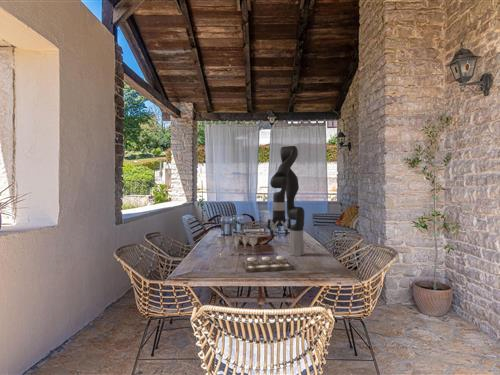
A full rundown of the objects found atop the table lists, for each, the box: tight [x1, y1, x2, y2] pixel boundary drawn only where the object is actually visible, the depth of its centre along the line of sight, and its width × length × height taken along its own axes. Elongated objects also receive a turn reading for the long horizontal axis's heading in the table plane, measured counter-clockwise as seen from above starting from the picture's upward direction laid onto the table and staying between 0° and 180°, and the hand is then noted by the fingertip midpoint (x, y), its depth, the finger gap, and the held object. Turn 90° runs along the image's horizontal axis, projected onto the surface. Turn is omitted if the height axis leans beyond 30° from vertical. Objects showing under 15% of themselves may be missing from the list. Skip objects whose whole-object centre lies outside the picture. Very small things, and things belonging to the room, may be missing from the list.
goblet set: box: [216, 234, 258, 256], centre depth 263 cm, size 28×6×13 cm, turn 92°
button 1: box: [246, 256, 257, 262], centre depth 227 cm, size 5×5×2 cm
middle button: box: [261, 256, 271, 261], centre depth 229 cm, size 5×5×2 cm
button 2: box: [275, 255, 286, 261], centre depth 230 cm, size 5×5×2 cm
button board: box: [241, 257, 294, 273], centre depth 227 cm, size 28×16×4 cm, turn 101°
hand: (279, 235), depth 230 cm, fingers open, 8 cm apart
